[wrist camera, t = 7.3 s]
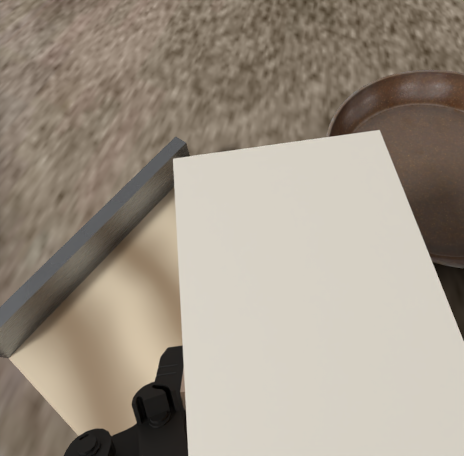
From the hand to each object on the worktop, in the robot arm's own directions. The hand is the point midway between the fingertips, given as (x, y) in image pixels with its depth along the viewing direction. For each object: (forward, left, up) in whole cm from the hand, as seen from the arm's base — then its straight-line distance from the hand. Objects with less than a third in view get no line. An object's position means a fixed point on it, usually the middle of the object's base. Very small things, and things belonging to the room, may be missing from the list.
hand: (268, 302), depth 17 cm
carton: (+2, +3, -5) cm, 6 cm away
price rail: (+5, -12, -6) cm, 14 cm away
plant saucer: (-18, +1, -8) cm, 20 cm away
